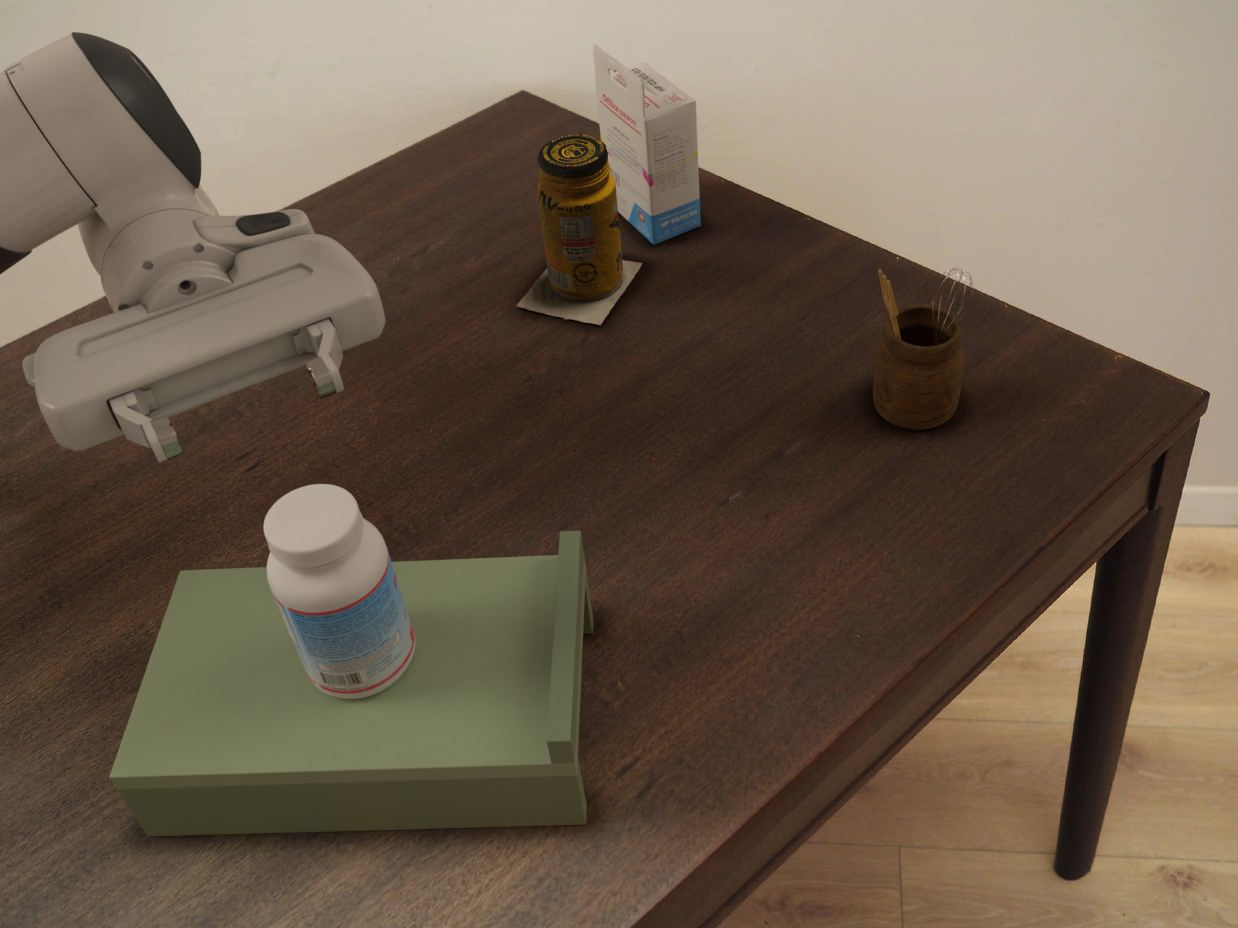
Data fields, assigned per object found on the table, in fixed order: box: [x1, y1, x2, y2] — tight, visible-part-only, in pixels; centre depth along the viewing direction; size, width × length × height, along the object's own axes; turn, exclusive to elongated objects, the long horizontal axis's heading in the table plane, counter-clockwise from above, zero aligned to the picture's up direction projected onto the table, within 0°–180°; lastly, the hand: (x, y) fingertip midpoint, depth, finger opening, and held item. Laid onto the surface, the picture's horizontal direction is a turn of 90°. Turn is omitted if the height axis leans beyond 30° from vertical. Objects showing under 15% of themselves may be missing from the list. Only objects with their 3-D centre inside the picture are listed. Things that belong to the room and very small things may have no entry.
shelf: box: [109, 530, 594, 837], centre depth 71 cm, size 24×14×8 cm, turn 89°
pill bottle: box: [263, 483, 415, 699], centre depth 65 cm, size 6×6×11 cm
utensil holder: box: [872, 267, 974, 431], centre depth 85 cm, size 6×6×12 cm
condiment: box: [516, 133, 643, 326], centre depth 98 cm, size 7×8×12 cm
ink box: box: [592, 43, 702, 246], centre depth 104 cm, size 8×5×15 cm, turn 29°
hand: (250, 417), depth 71 cm, fingers open, 8 cm apart
